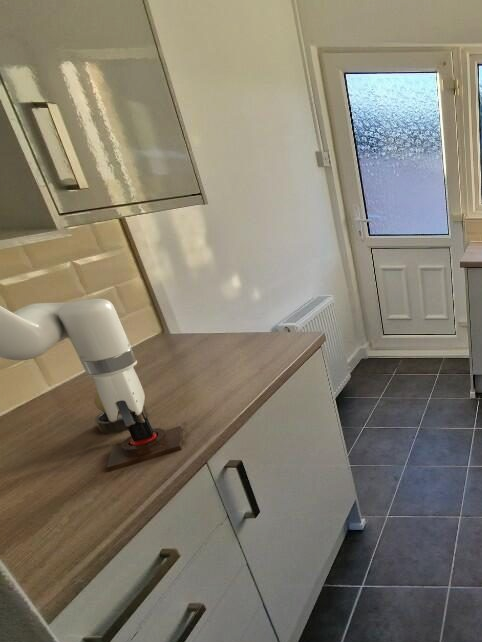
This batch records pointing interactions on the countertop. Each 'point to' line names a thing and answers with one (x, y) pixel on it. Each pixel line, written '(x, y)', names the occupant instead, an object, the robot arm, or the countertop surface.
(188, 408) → the countertop surface
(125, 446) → the switch block
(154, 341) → the countertop surface
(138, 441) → the switch button
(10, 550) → the countertop surface
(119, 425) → the socket
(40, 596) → the countertop surface
